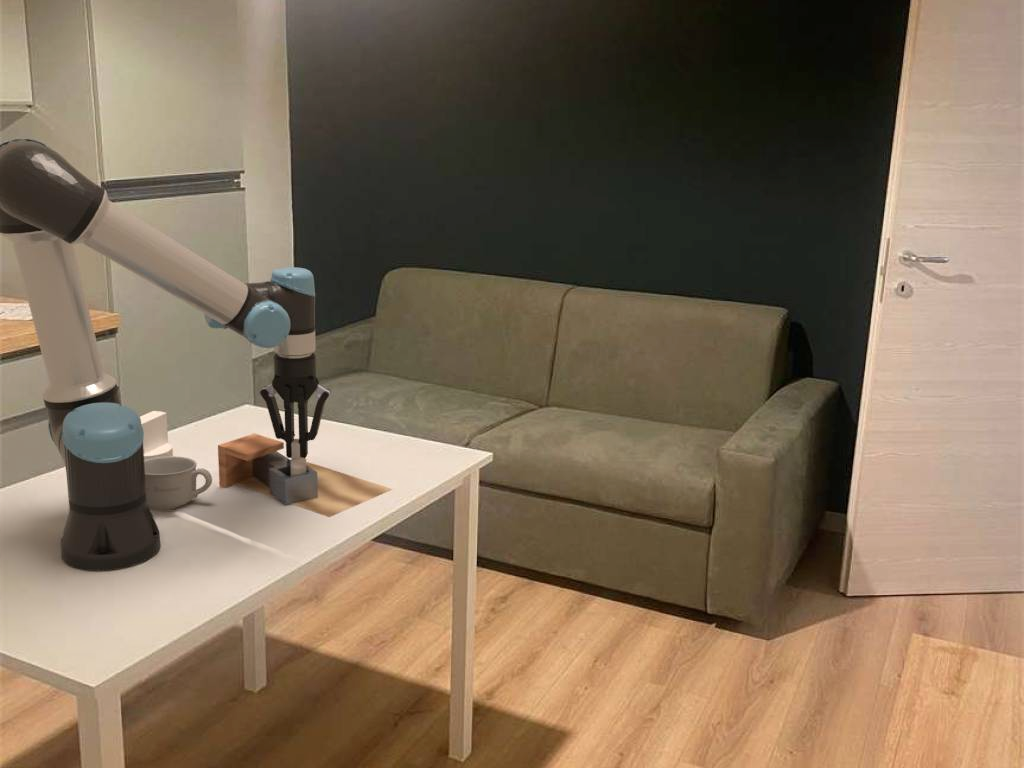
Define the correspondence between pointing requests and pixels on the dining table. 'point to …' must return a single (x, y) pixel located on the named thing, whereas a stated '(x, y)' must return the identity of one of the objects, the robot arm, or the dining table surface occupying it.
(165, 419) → the cylinder with rectangular tab
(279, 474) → the grey socket block
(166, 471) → the teacup
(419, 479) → the dining table surface
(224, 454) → the board
